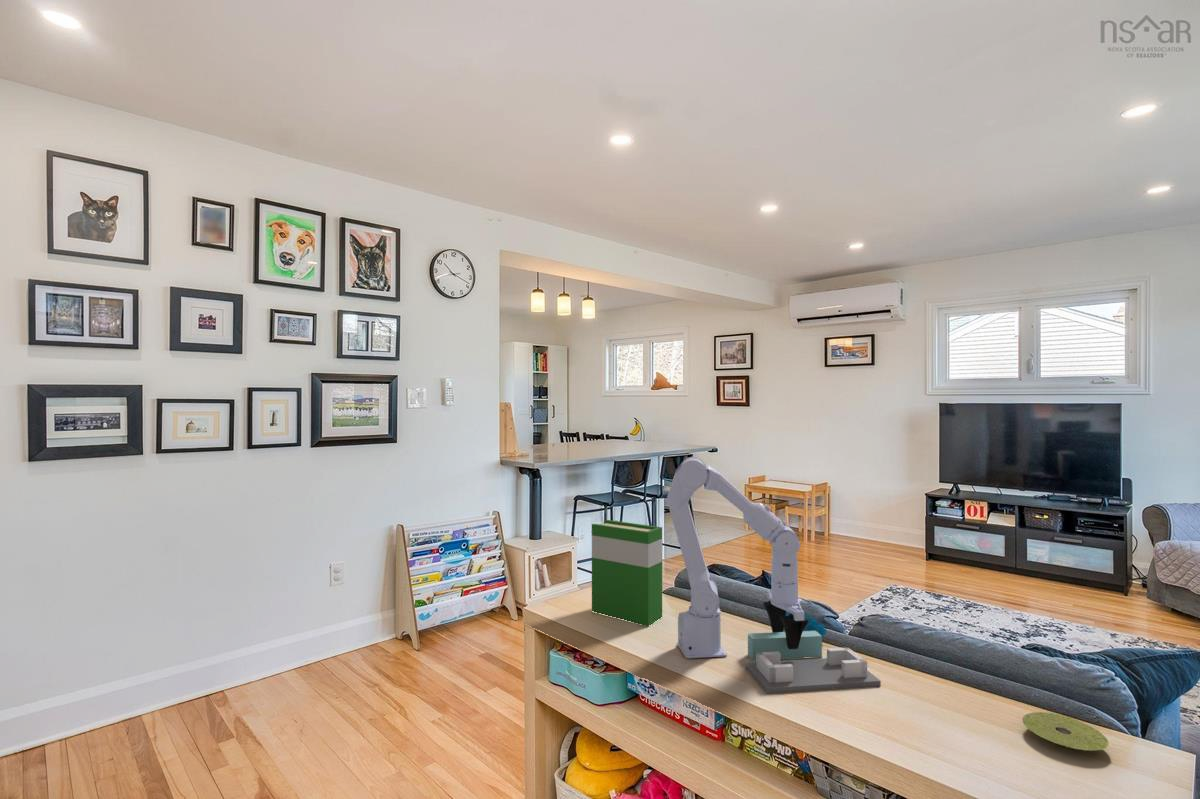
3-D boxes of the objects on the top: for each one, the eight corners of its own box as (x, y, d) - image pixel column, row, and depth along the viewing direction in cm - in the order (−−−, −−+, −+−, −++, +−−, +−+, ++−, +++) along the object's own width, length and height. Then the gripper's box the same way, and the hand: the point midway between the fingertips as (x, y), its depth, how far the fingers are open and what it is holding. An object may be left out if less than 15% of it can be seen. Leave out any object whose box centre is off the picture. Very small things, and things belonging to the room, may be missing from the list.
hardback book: (591, 612, 156) (591, 524, 156) (606, 604, 162) (606, 519, 162) (648, 627, 146) (648, 532, 146) (662, 618, 152) (662, 527, 152)
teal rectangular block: (752, 661, 127) (752, 638, 127) (747, 655, 130) (747, 633, 130) (821, 658, 128) (821, 635, 128) (815, 652, 131) (815, 630, 131)
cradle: (766, 693, 112) (766, 672, 112) (745, 667, 123) (745, 649, 123) (880, 685, 115) (880, 665, 115) (850, 661, 126) (849, 643, 126)
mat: (1111, 741, 96) (1111, 729, 96) (1105, 771, 88) (1105, 758, 88) (1029, 715, 104) (1028, 704, 104) (1016, 741, 96) (1016, 729, 97)
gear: (835, 634, 137) (813, 610, 134) (827, 657, 134) (804, 633, 131) (796, 626, 146) (775, 603, 143) (788, 647, 143) (766, 624, 140)
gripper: (817, 590, 123) (818, 654, 122) (786, 570, 137) (787, 627, 137) (786, 591, 122) (786, 656, 122) (758, 571, 136) (759, 629, 136)
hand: (785, 641), depth 129 cm, fingers open, 7 cm apart
